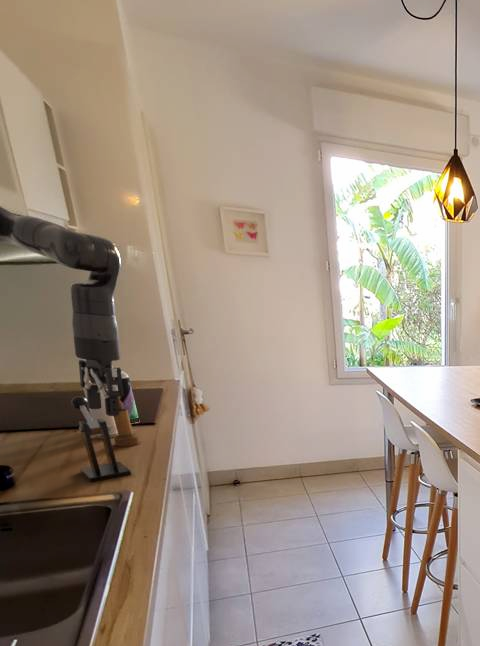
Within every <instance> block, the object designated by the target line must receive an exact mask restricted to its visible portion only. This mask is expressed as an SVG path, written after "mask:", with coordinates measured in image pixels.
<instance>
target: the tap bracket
mask: <svg viewBox="0 0 480 646" xmlns="http://www.w3.org/2000/svg"><path fill="white" fill-rule="evenodd" d="M97 421H98V424H99V426H100V429H101V436H102V439H101V440H102V444H103V447H104V451H105V455H106V458H107V461H108V462H107V463H102V464H99V462H98V458H97V455H96V452H95V448H94V443H93V441H92V437H91V436H92V435H91V434H90V432H89V429H88V425H87V422H85V421H84V420H79V421H78V425H79V427H78V431H79V432H80V433H81V436H82V439H83V443H84V446H85V450H86V453H87V457H88V461H89V464H90V466H87V467H86V466H85V467H79V468H80V473H81V475H83V476H84V477H85V478H86V479H87V480H88V481H89V482H90V483H96V482H101V481H106V480H111V479H117V478H122V477H126V476H131V475H132V472H131V470H130V469H129V468H128V467H126V466H125V464H123V463H122V462H121V461H117V458H116V456H115V452H114V448H113V444H112V439H111V438H110V436H109V432H108V425H107V424H106V421H104V420H103V419H97Z"/></svg>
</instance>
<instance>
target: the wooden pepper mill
mask: <svg viewBox="0 0 480 646" xmlns="http://www.w3.org/2000/svg"><path fill="white" fill-rule="evenodd" d="M117 389H118V388H117ZM112 391H113V390H112ZM118 404H119V415H118V416H113V417H114V421H115V424H116V428H117V432H118V435H117V436H116V437H114V438H113V439H114V444H115V447H121V448H124V447H133V446H136V445H139V444H141V438H140V436H139V435H138V434H136V433H135V432H134V431H133V426H132V424H131V423H130V419H129V415H128V410H127V409H122V405H123V404H122V402H121V401H120V398H118Z"/></svg>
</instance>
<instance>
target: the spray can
mask: <svg viewBox="0 0 480 646" xmlns="http://www.w3.org/2000/svg"><path fill="white" fill-rule="evenodd" d="M121 376H122V385H123V393H124V395H123V397H120V401H121V402H122V404H123V405H122V409H127V410H128V415H129V419H135V418H139V414H138V410H137V406H136V402H135V401H136V400H135V397H134V393H133V389H132V384H131V380H130V376H129V375H128V373H126V372H125V371H123V370H122V369H121ZM117 388H118V387H117ZM133 424H139V422H135V423H131V425H133Z"/></svg>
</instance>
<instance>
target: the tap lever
mask: <svg viewBox="0 0 480 646" xmlns="http://www.w3.org/2000/svg"><path fill="white" fill-rule="evenodd" d="M70 403H71V406H72V407H73V409H74V408H75V409H76V410H80V411H81V413H82V415H83V418H84V419H85V420H86V424H87V425H88V429H89V433H90V436H96V435H97V434H101V429H100V426H99V424H98V422H97V421H93V420H92V418H91V415H90V412H89V411H88V409H87V408H89V407H88V401H87V399H86V397H84V396H80V395H78V396H74V397H73V398H72V399H71V402H70Z"/></svg>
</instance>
